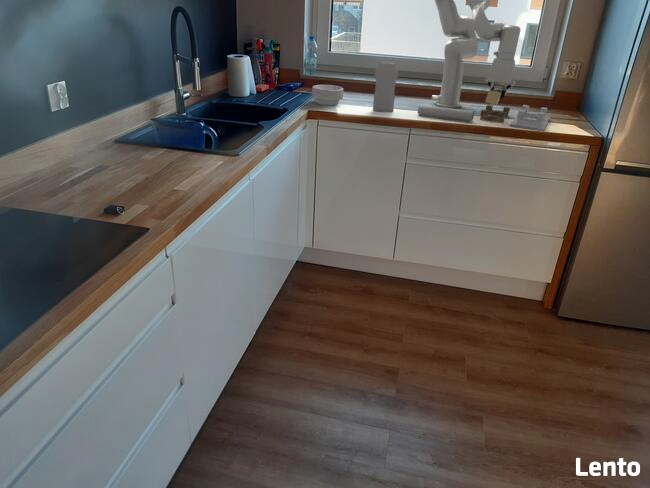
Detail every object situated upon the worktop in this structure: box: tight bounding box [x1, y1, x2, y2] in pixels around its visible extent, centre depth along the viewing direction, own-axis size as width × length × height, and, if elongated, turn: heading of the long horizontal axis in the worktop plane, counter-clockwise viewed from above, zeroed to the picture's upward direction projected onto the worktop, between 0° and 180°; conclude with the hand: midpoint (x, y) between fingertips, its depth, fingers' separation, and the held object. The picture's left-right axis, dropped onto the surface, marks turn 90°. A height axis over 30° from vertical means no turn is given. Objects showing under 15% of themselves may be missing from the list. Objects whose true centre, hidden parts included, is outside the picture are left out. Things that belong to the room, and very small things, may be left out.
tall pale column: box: [372, 61, 399, 113], centre depth 233 cm, size 11×4×22 cm, turn 94°
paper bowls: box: [311, 84, 344, 106], centre depth 247 cm, size 15×15×8 cm
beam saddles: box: [479, 104, 511, 123], centre depth 234 cm, size 10×15×4 cm
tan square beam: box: [485, 83, 509, 106], centre depth 231 cm, size 5×24×5 cm, turn 154°
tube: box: [417, 104, 475, 123], centre depth 229 cm, size 5×5×25 cm
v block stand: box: [509, 104, 551, 132], centre depth 227 cm, size 14×26×6 cm, turn 153°
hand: (496, 97), depth 231 cm, fingers closed on tan square beam, 4 cm apart
